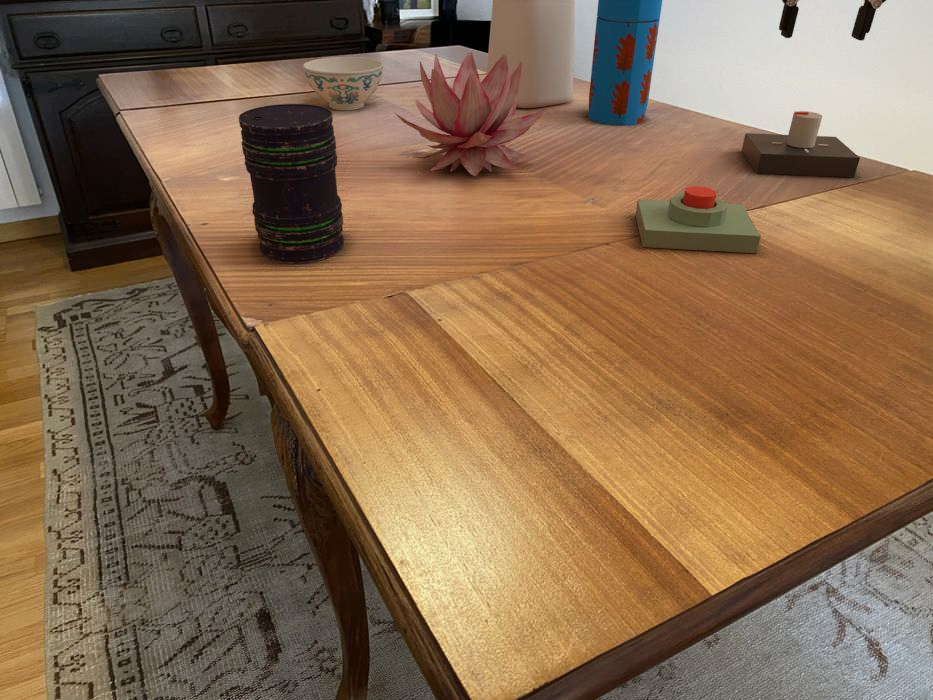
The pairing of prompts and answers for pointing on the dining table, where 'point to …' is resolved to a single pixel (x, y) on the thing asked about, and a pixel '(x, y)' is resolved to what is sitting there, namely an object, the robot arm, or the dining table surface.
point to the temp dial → (804, 129)
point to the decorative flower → (473, 116)
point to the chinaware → (344, 80)
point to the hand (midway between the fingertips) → (821, 37)
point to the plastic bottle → (535, 47)
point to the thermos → (623, 60)
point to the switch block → (696, 226)
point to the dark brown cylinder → (293, 181)
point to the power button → (699, 197)
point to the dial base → (799, 156)
